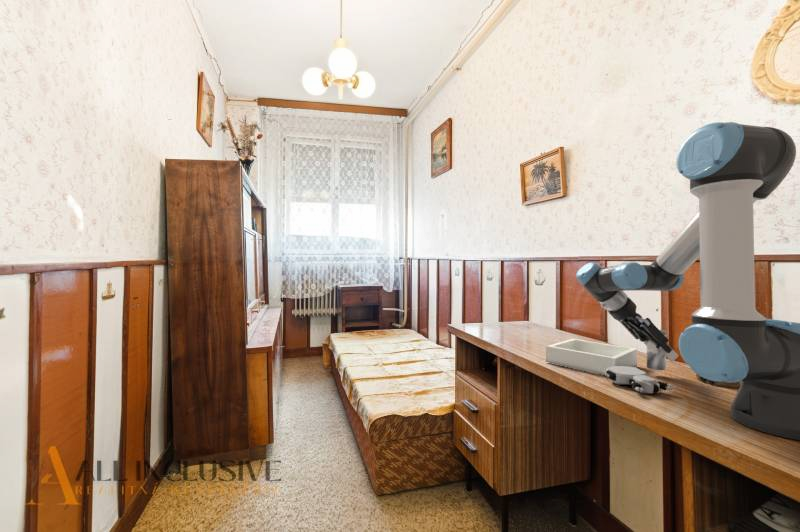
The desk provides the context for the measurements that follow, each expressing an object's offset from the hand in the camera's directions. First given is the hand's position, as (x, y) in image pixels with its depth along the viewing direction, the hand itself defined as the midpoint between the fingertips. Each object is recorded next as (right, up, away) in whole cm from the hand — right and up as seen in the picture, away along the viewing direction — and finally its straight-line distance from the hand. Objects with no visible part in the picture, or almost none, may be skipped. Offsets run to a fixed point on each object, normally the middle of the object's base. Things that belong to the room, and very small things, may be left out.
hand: (667, 356), depth 115 cm
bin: (-18, -6, +12) cm, 22 cm away
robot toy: (-18, -6, -12) cm, 23 cm away
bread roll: (+11, -7, -6) cm, 14 cm away
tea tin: (-4, -4, 0) cm, 5 cm away
